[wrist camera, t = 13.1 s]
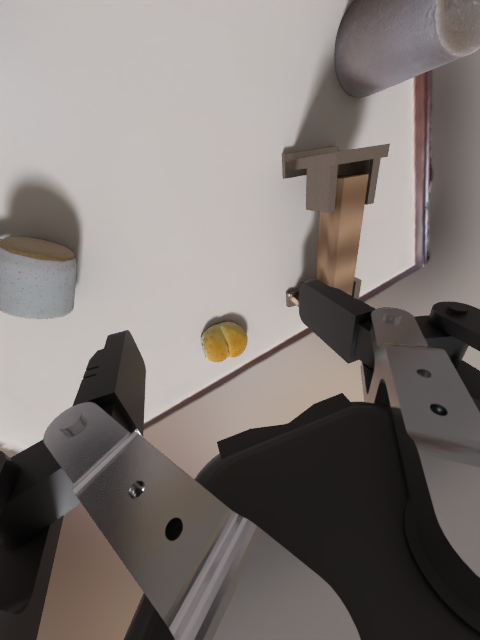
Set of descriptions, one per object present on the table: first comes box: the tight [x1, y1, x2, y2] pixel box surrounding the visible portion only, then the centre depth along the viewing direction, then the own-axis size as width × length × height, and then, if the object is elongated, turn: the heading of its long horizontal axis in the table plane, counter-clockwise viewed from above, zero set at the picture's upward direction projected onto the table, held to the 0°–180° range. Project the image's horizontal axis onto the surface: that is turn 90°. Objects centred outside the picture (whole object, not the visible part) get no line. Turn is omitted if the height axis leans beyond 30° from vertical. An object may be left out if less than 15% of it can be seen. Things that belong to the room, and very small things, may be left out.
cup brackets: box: [282, 144, 390, 307], centre depth 37 cm, size 25×9×11 cm, turn 8°
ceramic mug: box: [0, 237, 77, 319], centre depth 28 cm, size 11×8×8 cm
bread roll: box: [201, 322, 247, 362], centre depth 45 cm, size 8×9×4 cm
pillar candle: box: [334, 0, 480, 97], centre depth 25 cm, size 10×10×15 cm
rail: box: [317, 174, 369, 296], centre depth 34 cm, size 18×4×4 cm, turn 8°
